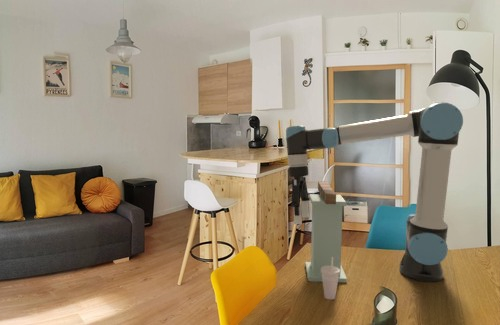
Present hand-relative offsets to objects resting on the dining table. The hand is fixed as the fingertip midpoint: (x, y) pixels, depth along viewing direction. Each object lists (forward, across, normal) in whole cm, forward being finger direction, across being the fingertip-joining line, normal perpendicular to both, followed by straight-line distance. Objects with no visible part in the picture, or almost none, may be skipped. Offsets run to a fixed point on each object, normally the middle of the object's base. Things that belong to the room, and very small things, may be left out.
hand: (302, 220), depth 133 cm
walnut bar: (-9, -3, +9) cm, 13 cm away
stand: (+21, -2, +7) cm, 22 cm away
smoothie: (+23, +15, +11) cm, 30 cm away
